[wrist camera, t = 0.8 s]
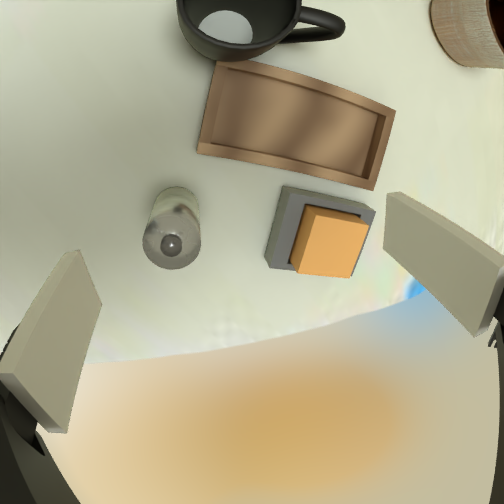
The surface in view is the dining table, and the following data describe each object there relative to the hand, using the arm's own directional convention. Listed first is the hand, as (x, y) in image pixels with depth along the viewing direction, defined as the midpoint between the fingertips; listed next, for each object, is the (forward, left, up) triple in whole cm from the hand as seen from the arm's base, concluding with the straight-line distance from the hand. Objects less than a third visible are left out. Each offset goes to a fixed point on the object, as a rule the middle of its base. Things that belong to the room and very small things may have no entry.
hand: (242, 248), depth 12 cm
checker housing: (+12, -5, -18) cm, 22 cm away
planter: (+25, +26, -18) cm, 41 cm away
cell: (-3, -5, -18) cm, 19 cm away
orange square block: (+12, -5, -16) cm, 21 cm away
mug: (0, +13, -19) cm, 23 cm away
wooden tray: (+7, +5, -18) cm, 20 cm away
